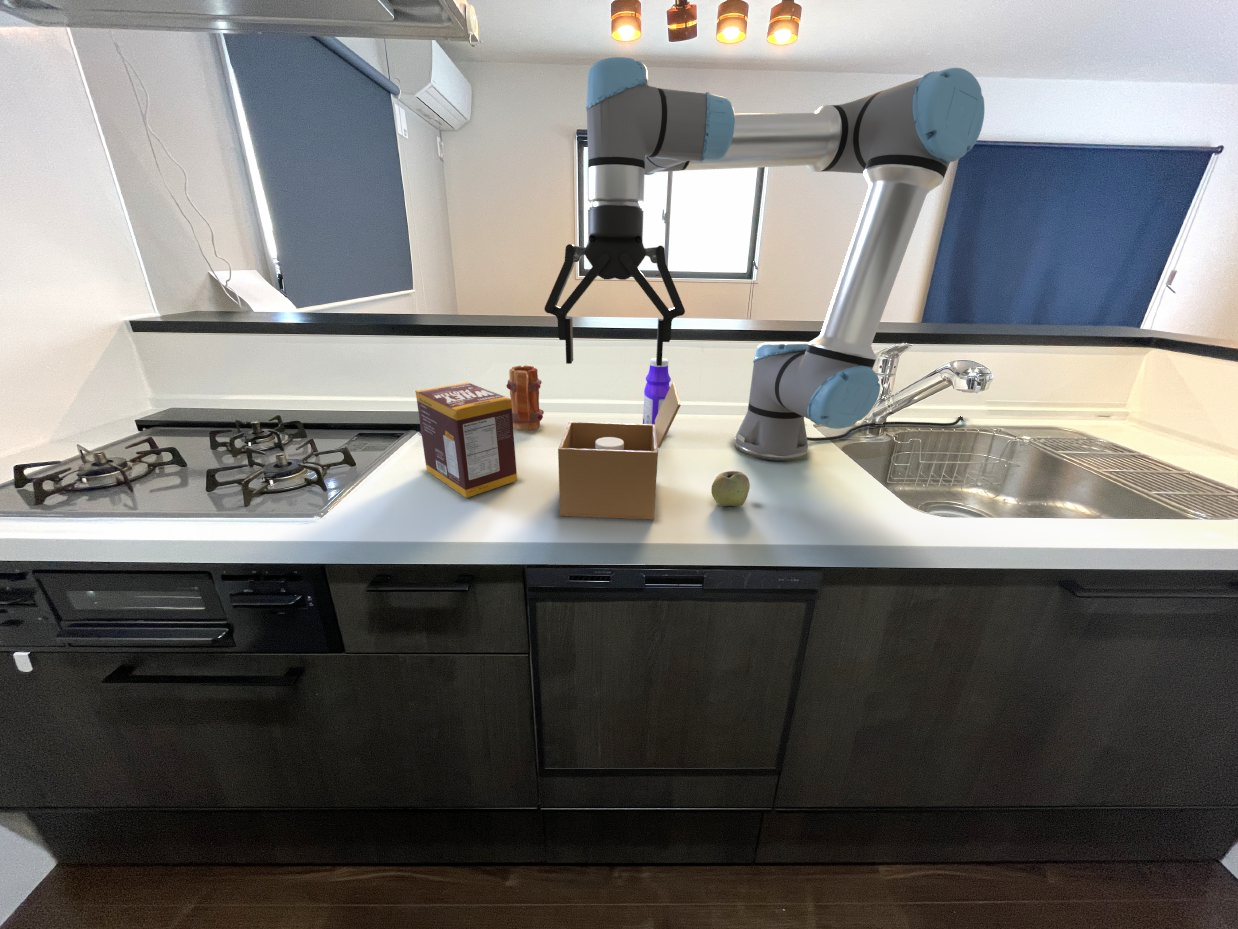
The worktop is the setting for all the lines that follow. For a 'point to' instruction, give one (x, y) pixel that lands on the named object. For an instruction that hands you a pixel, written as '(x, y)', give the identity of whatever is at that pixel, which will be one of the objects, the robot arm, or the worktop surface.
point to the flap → (666, 414)
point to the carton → (608, 471)
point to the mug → (525, 397)
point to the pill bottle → (609, 443)
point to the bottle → (655, 390)
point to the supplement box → (467, 437)
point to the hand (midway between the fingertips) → (614, 363)
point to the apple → (730, 488)
